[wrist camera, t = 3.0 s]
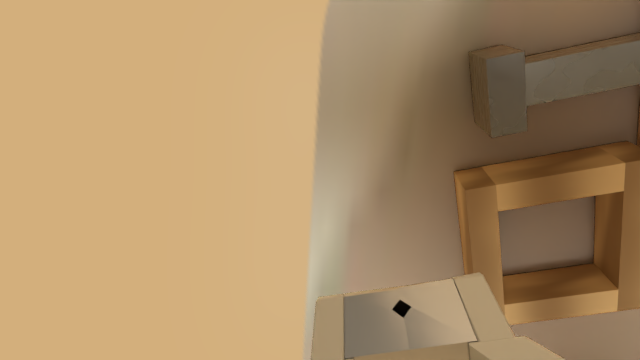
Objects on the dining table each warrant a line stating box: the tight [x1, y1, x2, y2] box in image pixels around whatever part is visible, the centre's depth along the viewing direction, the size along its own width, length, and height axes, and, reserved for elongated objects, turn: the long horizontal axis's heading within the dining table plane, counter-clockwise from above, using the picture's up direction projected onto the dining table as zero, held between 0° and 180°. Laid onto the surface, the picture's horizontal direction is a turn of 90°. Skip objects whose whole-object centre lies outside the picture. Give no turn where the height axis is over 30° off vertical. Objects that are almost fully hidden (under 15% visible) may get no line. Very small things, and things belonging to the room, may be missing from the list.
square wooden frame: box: [454, 141, 640, 325], centre depth 24 cm, size 9×9×2 cm
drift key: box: [469, 33, 640, 138], centre depth 20 cm, size 9×4×3 cm, turn 103°
